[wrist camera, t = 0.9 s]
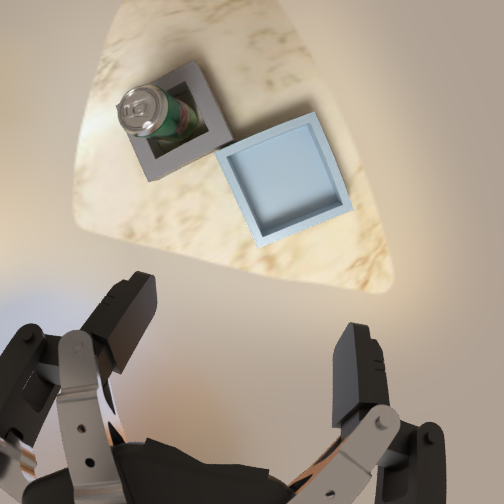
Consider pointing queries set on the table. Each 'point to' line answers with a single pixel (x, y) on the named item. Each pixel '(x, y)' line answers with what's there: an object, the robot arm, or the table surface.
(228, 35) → the table surface
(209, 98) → the socket block
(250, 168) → the parts tray
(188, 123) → the soda can
